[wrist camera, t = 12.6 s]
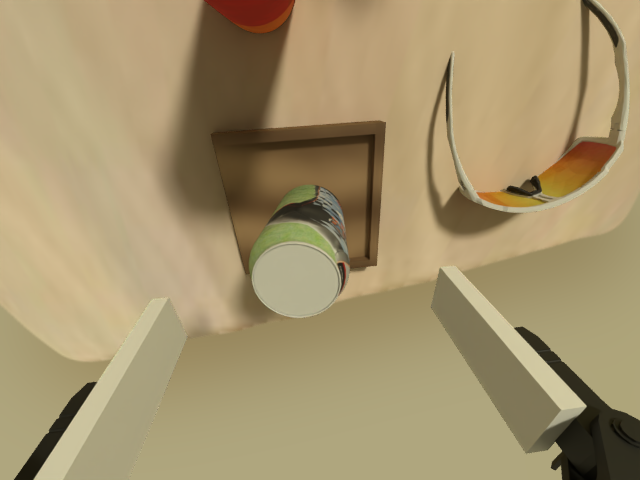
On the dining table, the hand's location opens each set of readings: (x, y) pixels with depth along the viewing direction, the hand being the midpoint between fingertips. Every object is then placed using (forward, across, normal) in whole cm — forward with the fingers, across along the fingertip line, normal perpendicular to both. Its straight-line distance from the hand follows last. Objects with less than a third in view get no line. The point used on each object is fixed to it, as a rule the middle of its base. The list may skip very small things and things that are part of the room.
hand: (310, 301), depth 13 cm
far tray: (+14, 0, 0) cm, 14 cm away
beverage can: (+13, 0, -1) cm, 13 cm away
